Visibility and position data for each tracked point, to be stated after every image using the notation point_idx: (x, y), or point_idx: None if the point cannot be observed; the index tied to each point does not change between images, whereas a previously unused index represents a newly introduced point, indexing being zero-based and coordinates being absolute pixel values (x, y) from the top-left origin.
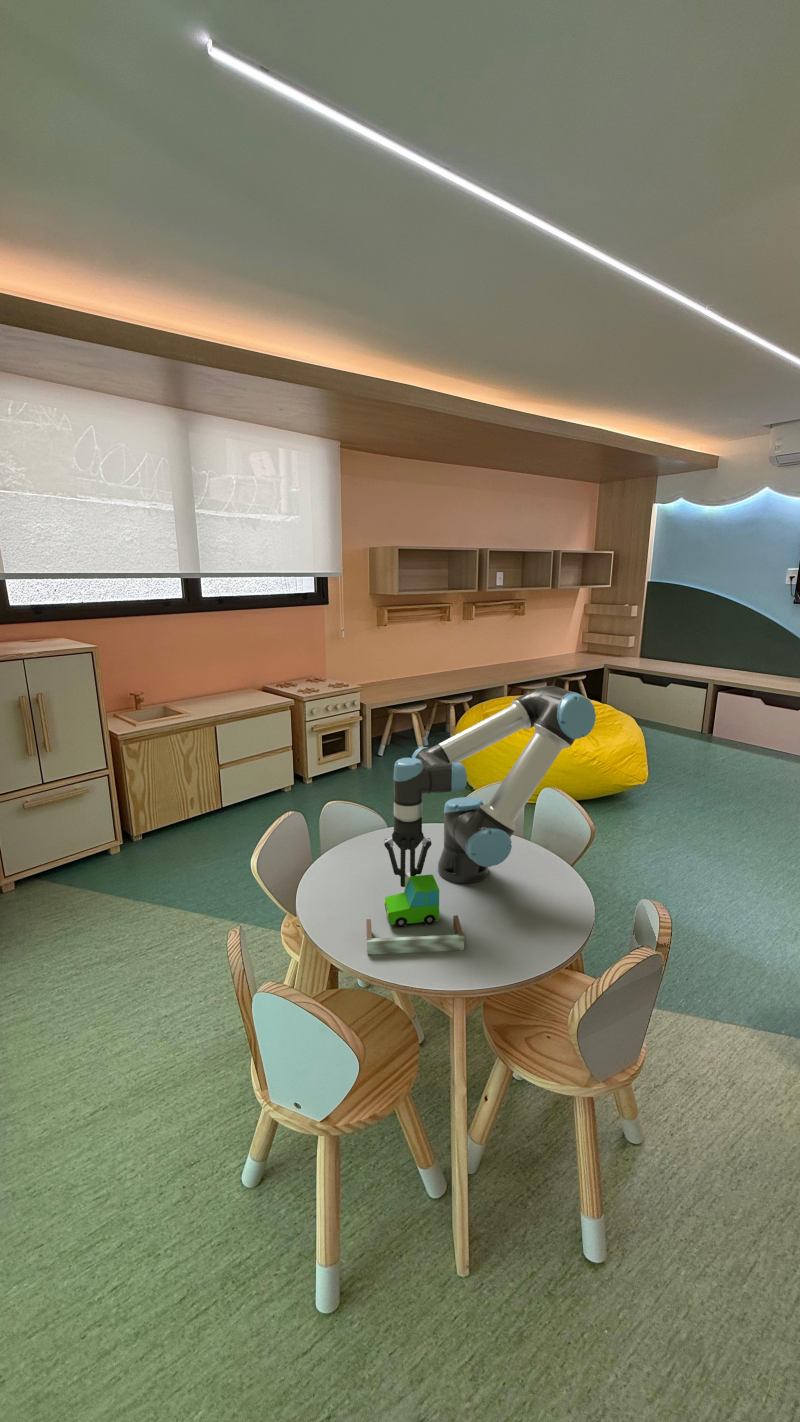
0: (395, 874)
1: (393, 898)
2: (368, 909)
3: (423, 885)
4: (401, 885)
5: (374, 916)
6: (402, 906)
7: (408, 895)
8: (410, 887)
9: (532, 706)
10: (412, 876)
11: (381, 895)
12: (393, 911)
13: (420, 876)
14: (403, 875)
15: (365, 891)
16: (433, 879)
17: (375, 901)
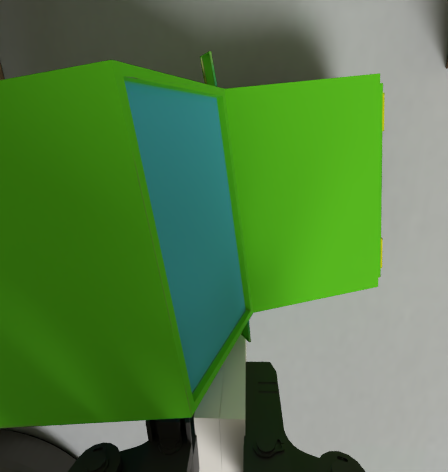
0: (347, 458)
1: (329, 258)
2: (424, 277)
3: (30, 227)
4: (270, 370)
5: (403, 216)
6: (275, 137)
7: (224, 239)
8: (200, 287)
9: None
10: (169, 412)
11: (345, 379)
12: (349, 82)
13: (87, 406)
14: (261, 440)
15: (413, 411)
16: None
17: (379, 338)
